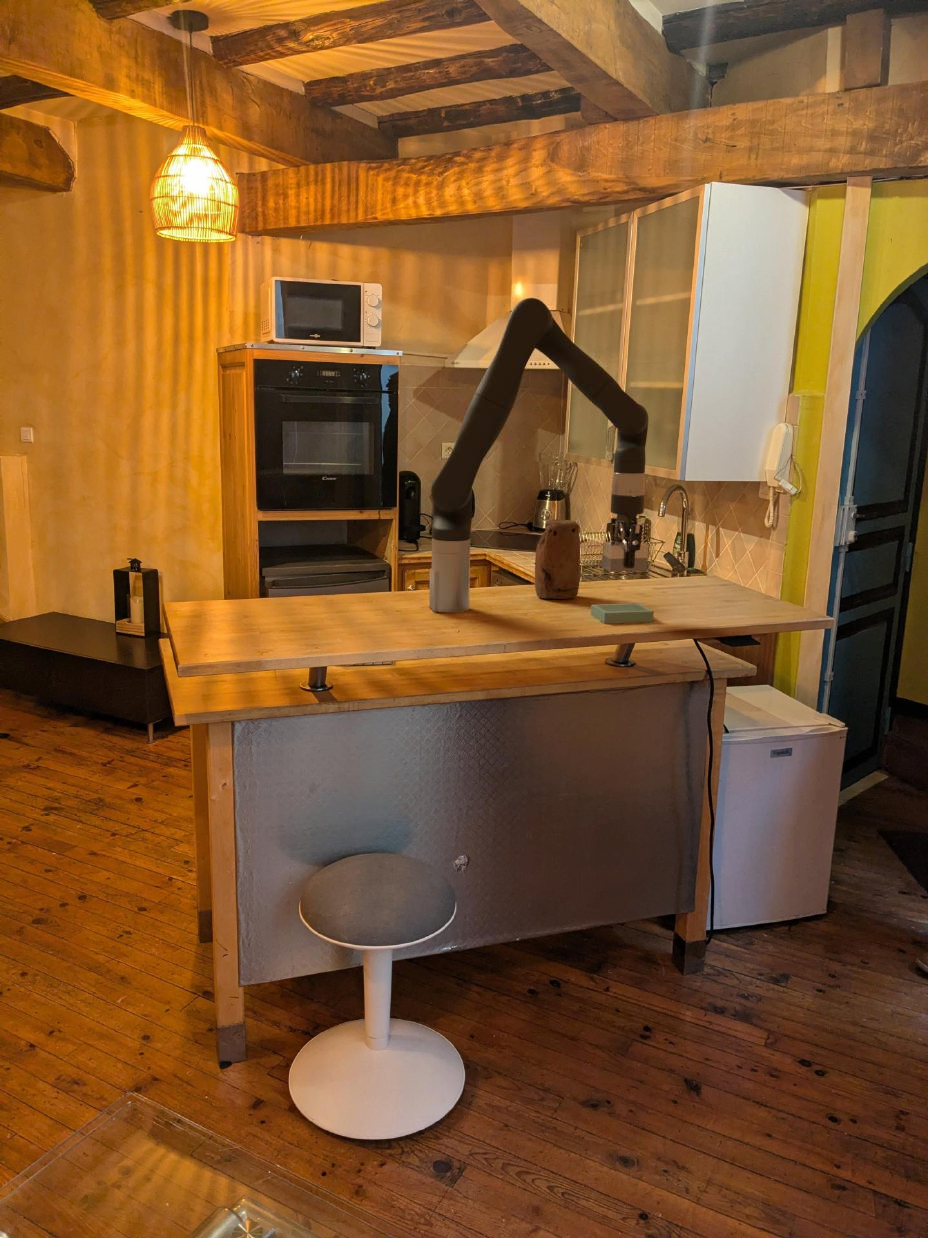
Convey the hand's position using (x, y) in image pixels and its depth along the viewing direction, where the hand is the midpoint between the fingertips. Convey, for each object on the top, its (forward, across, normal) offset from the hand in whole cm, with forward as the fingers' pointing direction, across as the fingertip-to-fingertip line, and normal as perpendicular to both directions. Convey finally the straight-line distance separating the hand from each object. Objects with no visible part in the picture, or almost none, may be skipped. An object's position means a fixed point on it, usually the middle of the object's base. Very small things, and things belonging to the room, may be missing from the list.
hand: (624, 565), depth 220 cm
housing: (+1, 0, 0) cm, 1 cm away
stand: (+13, 0, 0) cm, 13 cm away
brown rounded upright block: (+13, -26, -8) cm, 30 cm away
